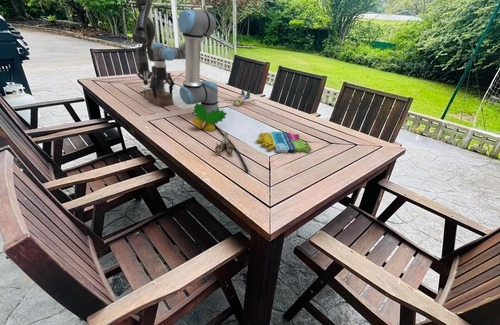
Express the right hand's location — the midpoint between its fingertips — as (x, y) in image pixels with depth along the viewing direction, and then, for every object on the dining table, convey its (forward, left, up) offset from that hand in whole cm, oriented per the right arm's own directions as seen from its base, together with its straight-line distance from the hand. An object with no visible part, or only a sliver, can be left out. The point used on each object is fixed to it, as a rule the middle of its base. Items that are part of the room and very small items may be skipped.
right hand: (163, 96), depth 198 cm
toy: (+4, -62, -6) cm, 63 cm away
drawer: (+14, +9, -5) cm, 17 cm away
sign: (-80, -66, -6) cm, 104 cm away
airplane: (+90, +5, -6) cm, 90 cm away
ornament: (-53, -28, -6) cm, 60 cm away
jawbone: (-85, -31, -6) cm, 91 cm away
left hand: (+19, +13, +4) cm, 24 cm away
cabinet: (+3, +2, -6) cm, 8 cm away
